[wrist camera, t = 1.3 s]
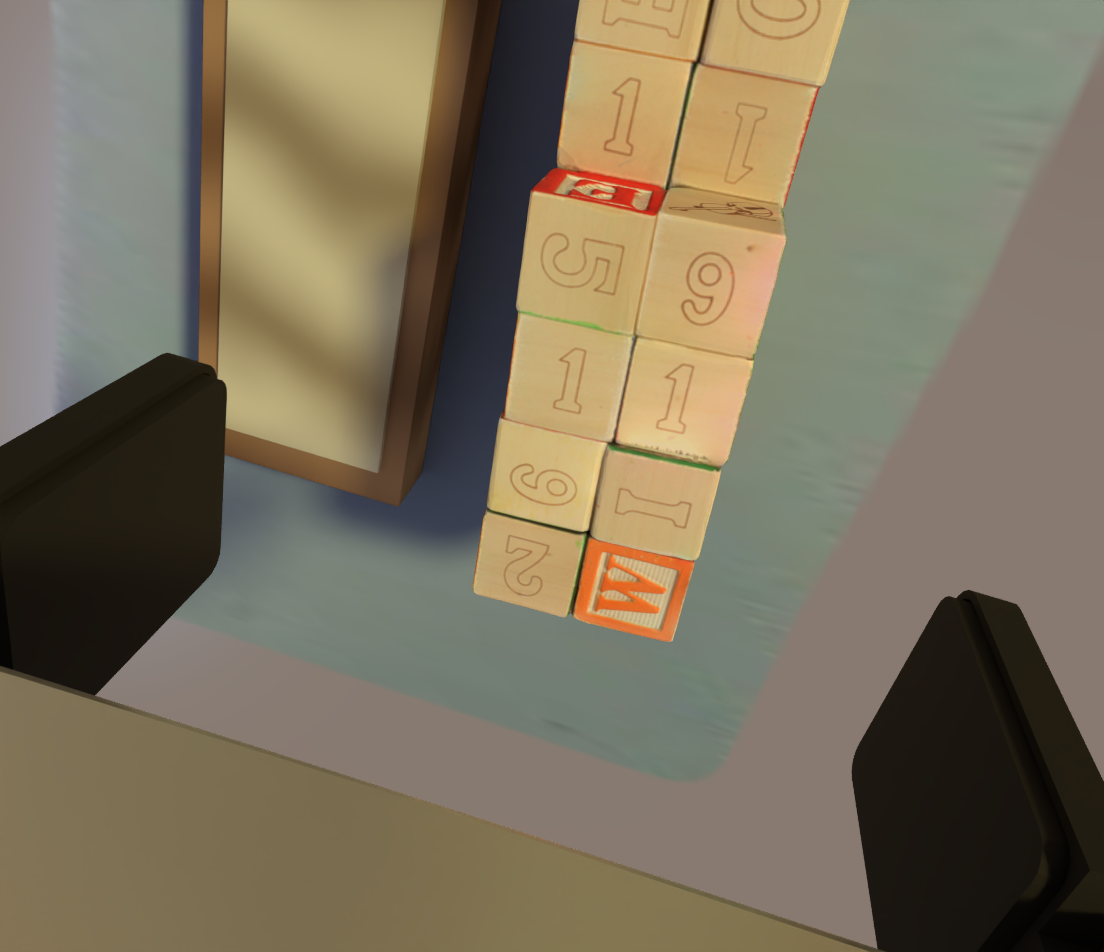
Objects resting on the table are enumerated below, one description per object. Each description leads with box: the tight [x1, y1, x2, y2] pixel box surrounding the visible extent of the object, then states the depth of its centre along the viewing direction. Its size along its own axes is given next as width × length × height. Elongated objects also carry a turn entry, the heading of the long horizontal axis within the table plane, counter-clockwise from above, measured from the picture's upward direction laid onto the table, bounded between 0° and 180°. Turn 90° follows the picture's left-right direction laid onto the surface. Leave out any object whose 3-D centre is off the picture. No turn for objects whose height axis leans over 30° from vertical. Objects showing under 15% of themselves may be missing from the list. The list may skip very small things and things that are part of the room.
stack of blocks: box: [473, 0, 850, 641], centre depth 26 cm, size 21×6×12 cm, turn 170°
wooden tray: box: [199, 0, 502, 507], centre depth 31 cm, size 27×9×3 cm, turn 167°
